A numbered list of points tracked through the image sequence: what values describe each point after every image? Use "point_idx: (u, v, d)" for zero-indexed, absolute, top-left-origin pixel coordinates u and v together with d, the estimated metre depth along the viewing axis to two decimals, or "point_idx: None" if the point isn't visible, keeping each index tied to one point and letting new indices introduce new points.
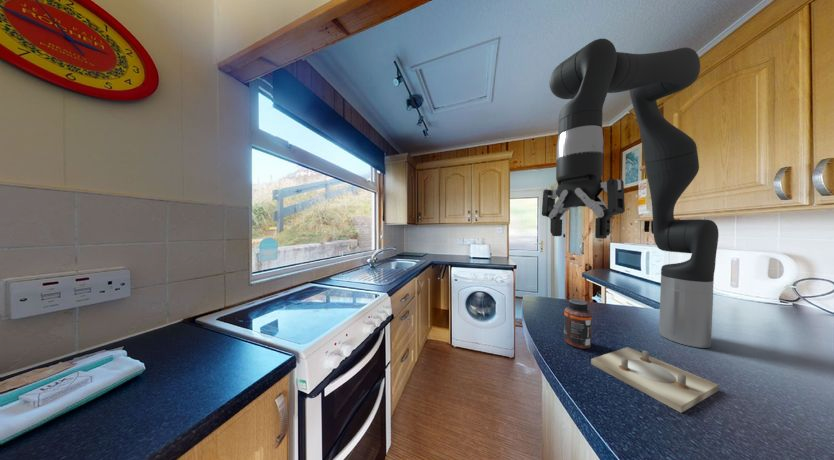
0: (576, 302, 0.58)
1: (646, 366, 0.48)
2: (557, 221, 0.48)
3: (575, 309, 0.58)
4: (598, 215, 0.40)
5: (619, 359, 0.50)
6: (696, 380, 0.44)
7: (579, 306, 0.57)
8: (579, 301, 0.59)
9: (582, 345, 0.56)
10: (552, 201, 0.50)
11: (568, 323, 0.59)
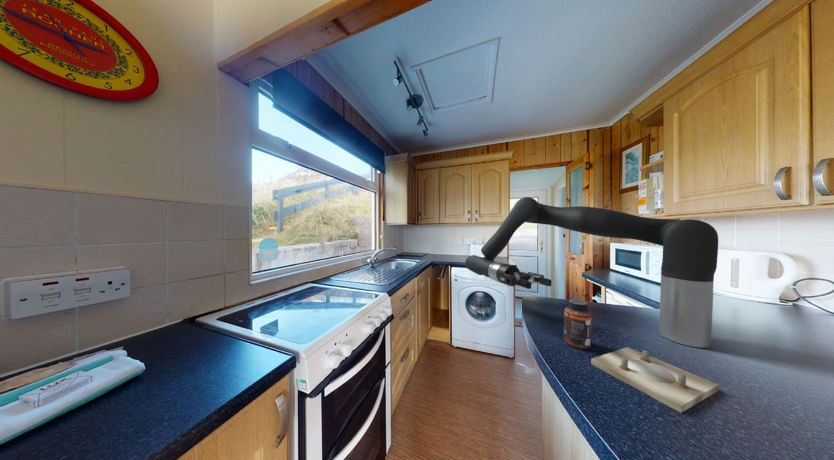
0: (576, 302, 0.58)
1: (646, 366, 0.48)
2: (540, 281, 0.74)
3: (575, 309, 0.58)
4: None
5: (619, 359, 0.50)
6: (696, 380, 0.44)
7: (579, 306, 0.57)
8: (579, 301, 0.59)
9: (582, 345, 0.56)
10: None
11: (568, 323, 0.59)
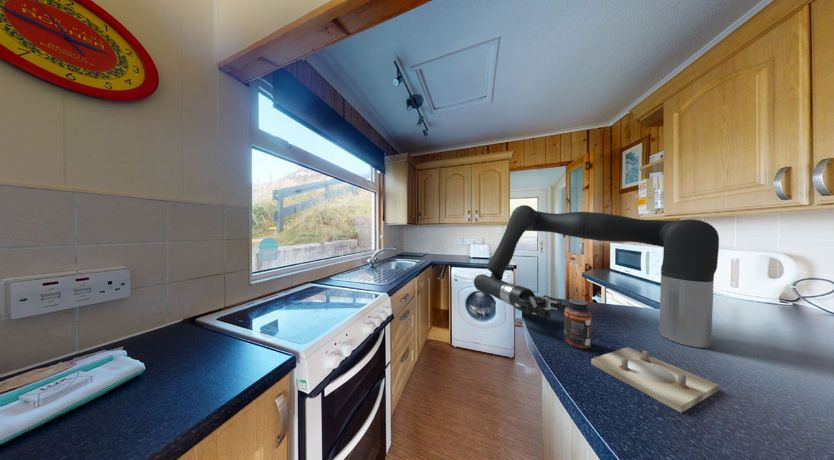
0: (576, 302, 0.58)
1: (646, 366, 0.48)
2: (559, 308, 0.68)
3: (575, 309, 0.58)
4: (535, 313, 0.66)
5: (619, 359, 0.50)
6: (696, 380, 0.44)
7: (579, 306, 0.57)
8: (579, 301, 0.59)
9: (582, 345, 0.56)
10: None
11: (568, 323, 0.59)
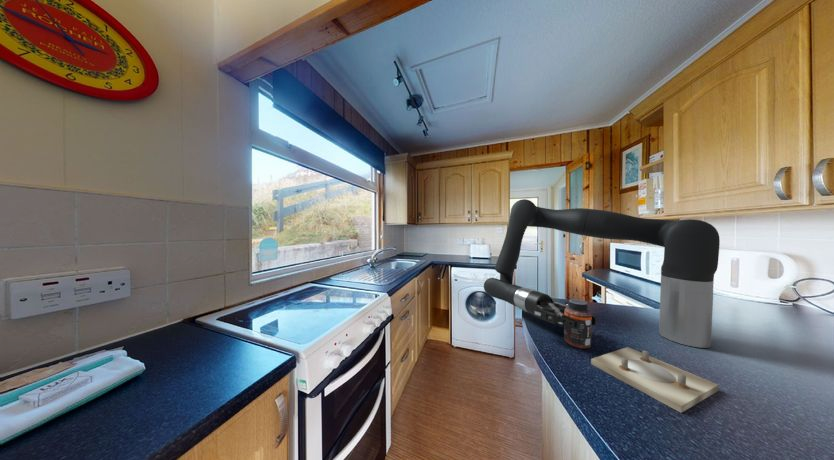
0: (576, 302, 0.58)
1: (646, 366, 0.48)
2: None
3: (575, 309, 0.58)
4: None
5: (619, 359, 0.50)
6: (696, 380, 0.44)
7: (579, 306, 0.57)
8: (579, 301, 0.59)
9: (582, 345, 0.56)
10: None
11: None
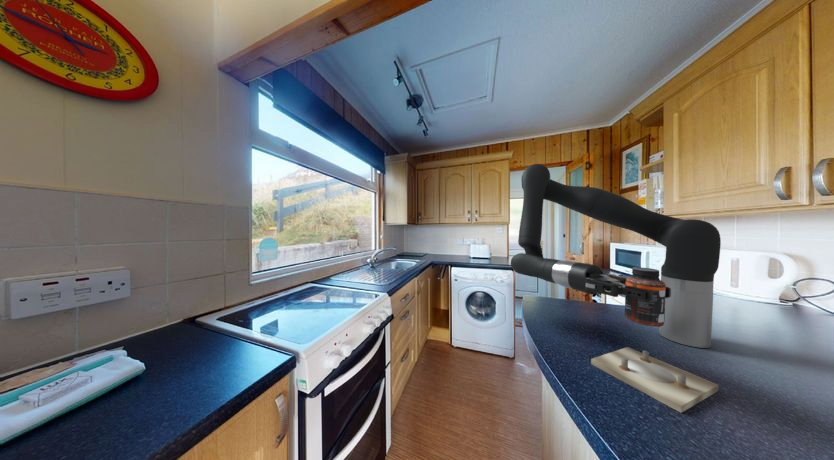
0: (644, 269, 0.46)
1: (646, 366, 0.48)
2: None
3: (644, 278, 0.46)
4: None
5: (619, 359, 0.50)
6: (696, 380, 0.44)
7: (649, 273, 0.45)
8: (647, 268, 0.47)
9: (654, 322, 0.44)
10: None
11: None
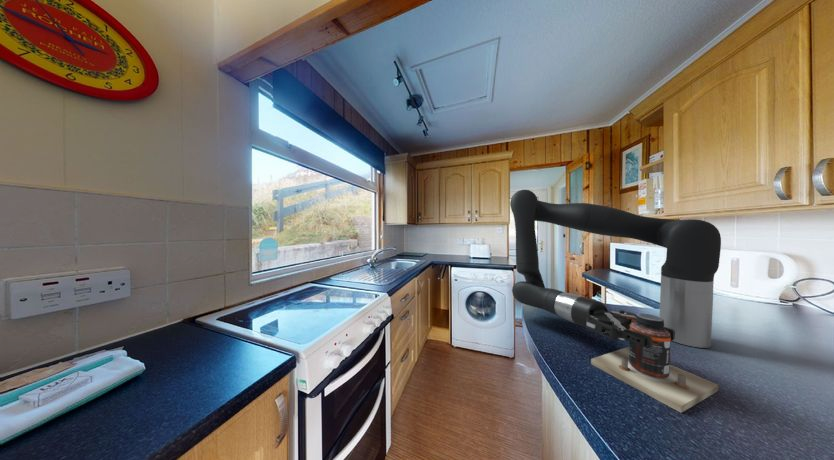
0: (648, 317, 0.46)
1: None
2: None
3: (648, 327, 0.45)
4: None
5: (619, 359, 0.50)
6: (696, 380, 0.44)
7: (654, 323, 0.45)
8: (651, 316, 0.46)
9: (659, 373, 0.44)
10: None
11: (637, 344, 0.46)
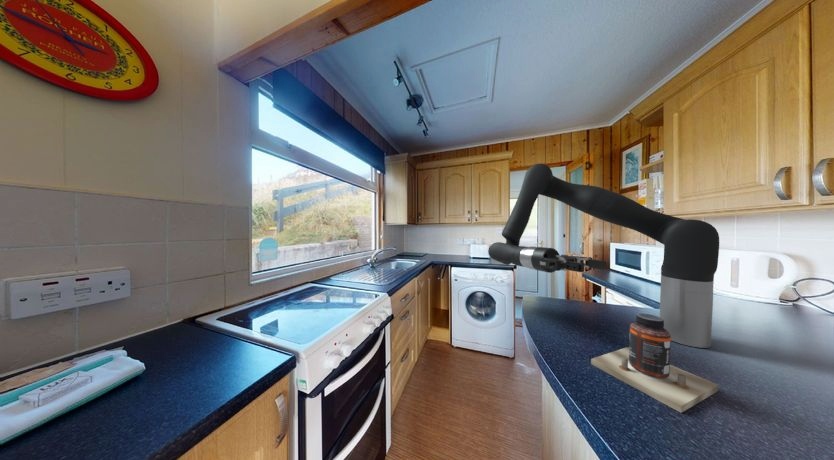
0: (648, 317, 0.46)
1: None
2: (590, 265, 0.61)
3: (648, 327, 0.45)
4: None
5: (619, 359, 0.50)
6: (696, 380, 0.44)
7: (654, 323, 0.45)
8: (651, 316, 0.46)
9: (659, 373, 0.44)
10: None
11: (637, 344, 0.46)
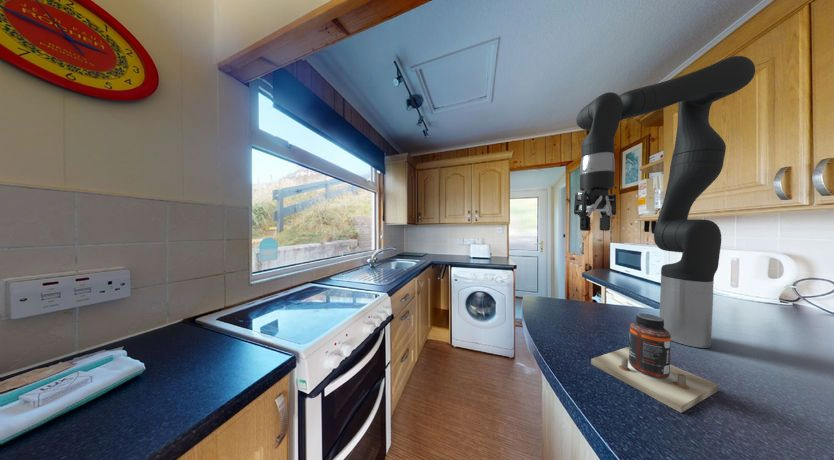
0: (648, 317, 0.46)
1: None
2: (602, 219, 0.64)
3: (648, 327, 0.45)
4: None
5: (619, 359, 0.50)
6: (696, 380, 0.44)
7: (654, 323, 0.45)
8: (651, 316, 0.46)
9: (659, 373, 0.44)
10: (610, 203, 0.64)
11: (637, 344, 0.46)
